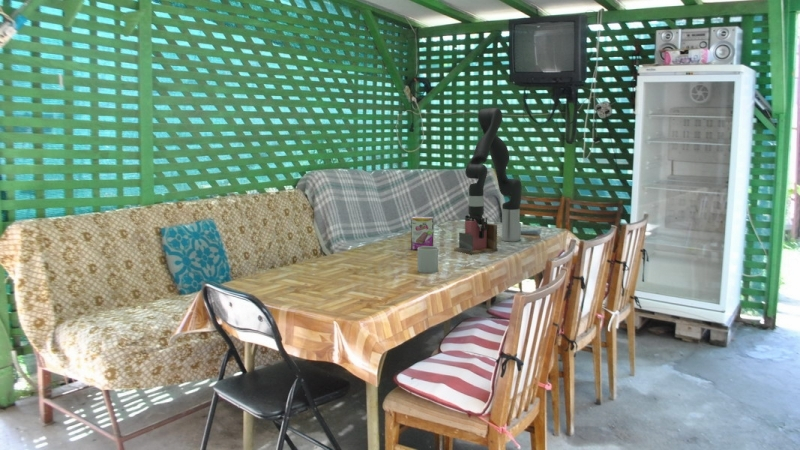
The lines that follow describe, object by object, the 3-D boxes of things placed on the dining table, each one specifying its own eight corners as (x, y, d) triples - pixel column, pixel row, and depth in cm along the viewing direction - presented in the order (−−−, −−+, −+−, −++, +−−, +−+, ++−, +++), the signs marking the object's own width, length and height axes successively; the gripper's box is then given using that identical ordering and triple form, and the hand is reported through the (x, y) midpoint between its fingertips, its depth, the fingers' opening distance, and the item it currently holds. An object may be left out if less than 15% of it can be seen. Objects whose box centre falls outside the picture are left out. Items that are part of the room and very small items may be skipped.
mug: (423, 273, 282) (423, 250, 281) (413, 269, 291) (413, 247, 289) (446, 271, 287) (446, 248, 286) (434, 267, 296) (434, 244, 294)
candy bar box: (411, 250, 337) (410, 217, 334) (411, 248, 342) (411, 216, 339) (433, 250, 336) (433, 217, 333) (433, 248, 341) (433, 216, 338)
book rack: (480, 247, 343) (480, 222, 341) (497, 251, 332) (497, 225, 331) (454, 250, 334) (454, 224, 332) (470, 254, 323) (470, 228, 321)
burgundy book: (480, 246, 338) (480, 219, 336) (486, 248, 334) (486, 220, 332) (465, 248, 332) (465, 220, 330) (470, 250, 328) (471, 222, 326)
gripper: (491, 205, 326) (491, 238, 328) (472, 203, 338) (472, 234, 340) (479, 206, 322) (479, 240, 324) (461, 204, 334) (460, 236, 336)
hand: (475, 237), depth 332 cm, fingers open, 8 cm apart
